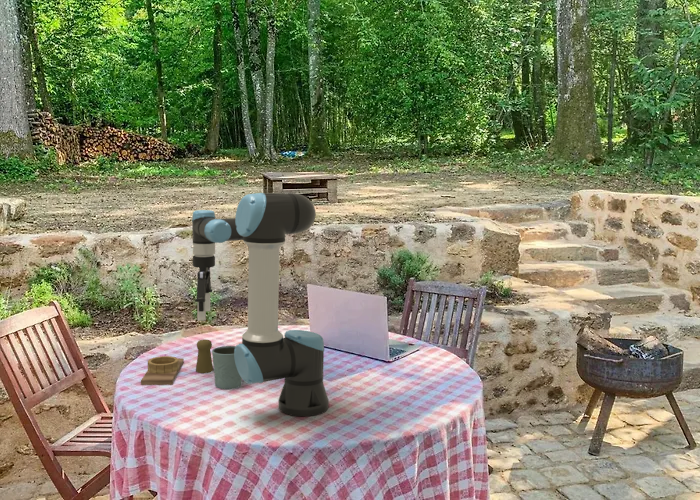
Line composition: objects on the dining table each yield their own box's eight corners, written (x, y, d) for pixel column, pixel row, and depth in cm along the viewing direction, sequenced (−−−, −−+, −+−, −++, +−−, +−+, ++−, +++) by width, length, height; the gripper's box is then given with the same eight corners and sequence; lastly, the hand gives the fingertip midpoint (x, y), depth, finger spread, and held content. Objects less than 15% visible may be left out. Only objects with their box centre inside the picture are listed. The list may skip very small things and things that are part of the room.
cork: (209, 374, 225) (208, 343, 223) (192, 372, 226) (192, 341, 224) (216, 368, 231) (215, 338, 229) (200, 367, 232) (199, 337, 230)
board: (172, 384, 213) (171, 371, 213) (140, 385, 212) (140, 371, 212) (183, 362, 237) (183, 350, 236) (155, 362, 236) (155, 350, 235)
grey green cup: (236, 391, 208) (236, 355, 207) (207, 388, 210) (206, 352, 209) (247, 381, 218) (247, 346, 217) (219, 378, 220) (219, 344, 219)
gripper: (197, 249, 235) (197, 307, 238) (187, 260, 210) (187, 324, 213) (218, 250, 236) (218, 307, 238) (210, 261, 211) (210, 324, 214)
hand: (204, 315), depth 226 cm, fingers open, 13 cm apart
